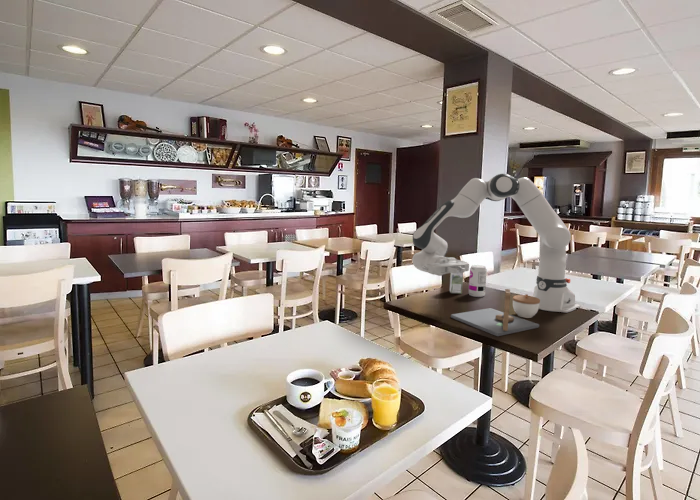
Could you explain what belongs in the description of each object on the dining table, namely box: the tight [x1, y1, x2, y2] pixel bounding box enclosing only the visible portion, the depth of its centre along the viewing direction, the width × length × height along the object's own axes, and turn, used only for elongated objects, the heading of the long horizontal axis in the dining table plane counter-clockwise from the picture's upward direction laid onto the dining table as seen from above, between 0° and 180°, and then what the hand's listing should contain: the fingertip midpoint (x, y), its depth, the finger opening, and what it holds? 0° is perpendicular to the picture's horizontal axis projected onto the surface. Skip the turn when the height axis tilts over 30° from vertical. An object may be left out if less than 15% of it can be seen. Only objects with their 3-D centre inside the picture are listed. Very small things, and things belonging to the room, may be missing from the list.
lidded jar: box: [512, 293, 540, 319], centre depth 175 cm, size 11×11×9 cm
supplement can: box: [468, 264, 488, 298], centre depth 209 cm, size 8×8×15 cm
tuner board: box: [450, 307, 540, 337], centre depth 166 cm, size 23×25×3 cm
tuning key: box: [496, 288, 514, 331], centre depth 159 cm, size 18×7×14 cm, turn 160°
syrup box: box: [449, 272, 464, 295], centre depth 214 cm, size 6×6×14 cm
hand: (460, 270), depth 172 cm, fingers closed
